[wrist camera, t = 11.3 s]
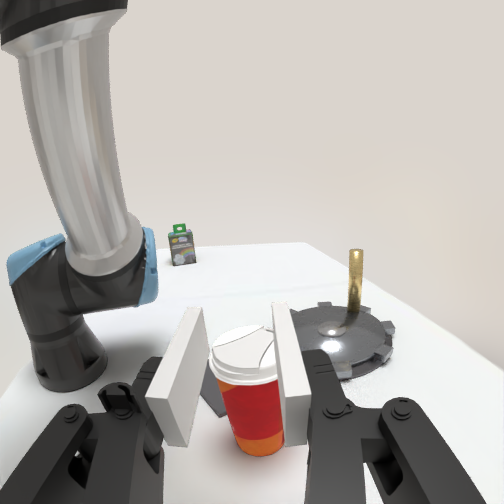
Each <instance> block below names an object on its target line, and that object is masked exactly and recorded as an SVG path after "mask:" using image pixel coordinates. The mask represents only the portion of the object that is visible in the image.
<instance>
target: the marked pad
mask: <svg viewBox="0 0 504 504" xmlns="http://www.w3.org/2000/svg"><path fill="white" fill-rule="evenodd" d="M200 394H201V396H202V397H203V398H204V399H205V401H206V402H207V403H208V404H209V405H210V407H211V408H212V409H213V410H214V411H215V413H216V414H217V415H218V416H219V417H222V416H224V415H226V414H227V412H226V409H225V405H224V402H223V399H222V395H221V392H220V388H219V385H218V382H217V378H216V377H215V375H214V373H213V372H212V370H211V369H210V366H209V359H208V361H207V365H206V369H205V373H204V378H203V382H202V386H201V390H200Z"/></svg>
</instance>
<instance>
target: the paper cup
mask: <svg viewBox="0 0 504 504" xmlns="http://www.w3.org/2000/svg"><path fill="white" fill-rule="evenodd" d="M209 366H210V369H211V370H212V372H213V373H214V375H215V377H216V378H217V382H218V385H219V388H220V392H221V395H222V399H223V402H224V405H225V409H226V412H227V415H228V418H229V421H230V424H231V427H232V430H233V433H234V436H235V438H236V441H237V443H238V445H239V447H240V448H241V449H242V450H243V451H244V452H245V453H247V454H249V455H253V456H267V455H271V454H273V453H275V452H277V451H278V450H279V449H280V448H281V447H282V446H283V444H284V442H285V439H284V430H283V421H282V412H281V403H280V394H279V386H278V377H277V368H276V360H275V352H274V336H273V329H271V328H264V326H245V327H240V328H236V329H233V330H230V331H228V332H226V333H224V334H222V335H221V336H220V337H219V338H217V339H216V341H215V342H214V344H213V346H212V352H211V354H210V356H209Z"/></svg>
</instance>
